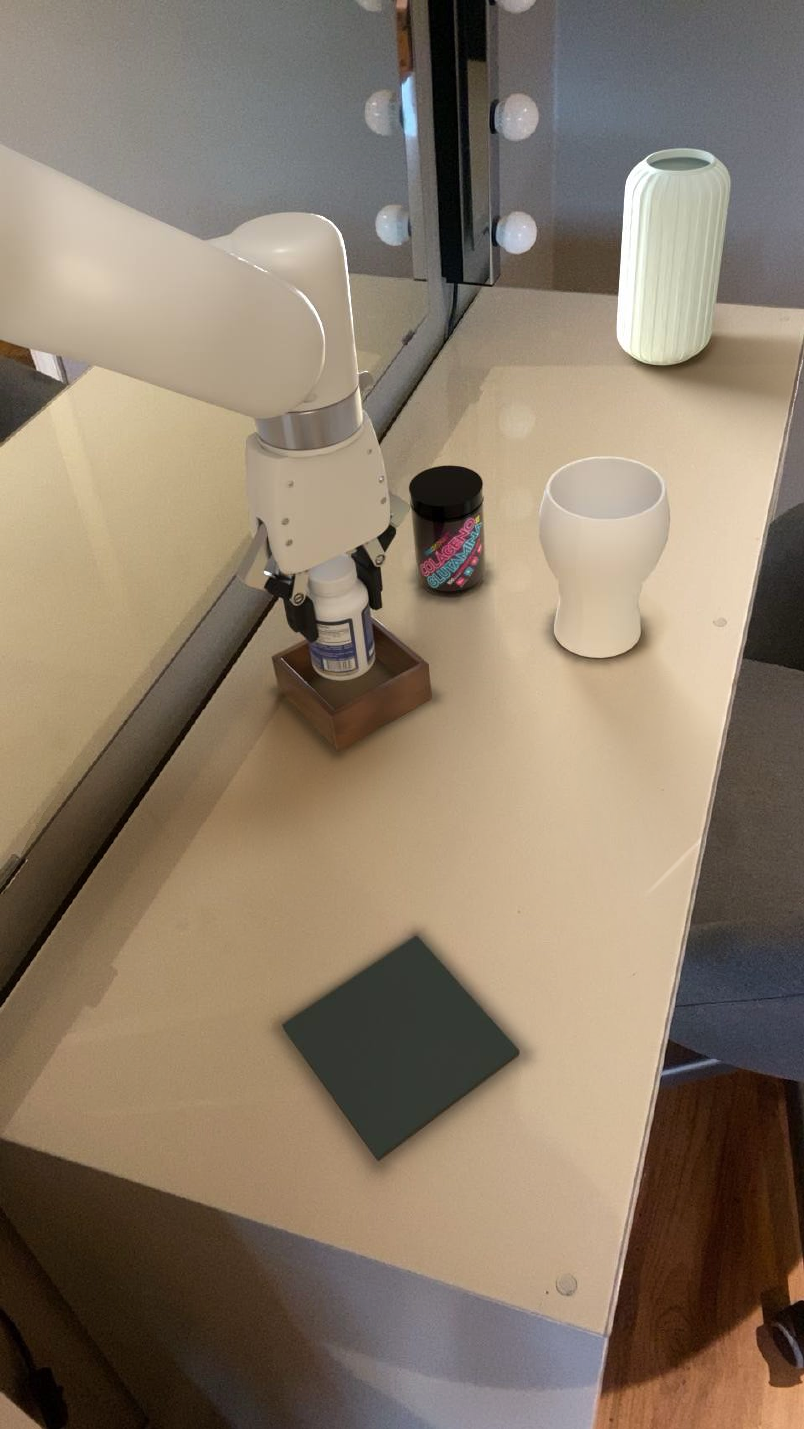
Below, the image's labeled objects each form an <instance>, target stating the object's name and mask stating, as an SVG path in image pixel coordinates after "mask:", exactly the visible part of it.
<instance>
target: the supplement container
mask: <svg viewBox="0 0 804 1429" xmlns="http://www.w3.org/2000/svg"><path fill="white" fill-rule="evenodd" d="M408 492H409V493H408V494H409V505H410V511H411V523H412V531H413V532H412V533H413V544H414V545H413V546H414V554H415V564H416V575H417V576H416V577H417V580H418V582H419V583H420V584H421V586H422V587H423V588H424V589H426V590H427V591H429V592H431V593H433V594H435V595H439V596H445V597H454V596H460V595H464V594H465V595H466V594H467V593H469V592H471V591H473V590H474V589H476V588H477V587H478V586H480V584H481V583H482V582H483V580H484V578H485V575H486V572H487V571H486V567H487V566H486V544H485V542H486V541H485V512H484V500H485V496H484V481H483V479H482V476H481V475H480V474H479V473H477V472H476V470H473V469H471V468H468V467H465V466H460V465H452V464H449V465H438V466H434V467H430V468H427V469H424V470H422V471H421V472H419V473H418V474H416V475H415V476H414V477H413V478H411V480H410V482H409V485H408Z"/></svg>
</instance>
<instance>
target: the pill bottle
mask: <svg viewBox="0 0 804 1429" xmlns="http://www.w3.org/2000/svg"><path fill="white" fill-rule="evenodd" d="M306 595H307V596H308V597H309V598H310V599H311V600H312V601H313V604H314V610H315V616H316V623H317V629H318V635H319V637H318V638H317V640H316V641H314V642H312V643H311V642H309V641H308V644H309V650H310V656H311V661H312V665H313V667H314V669H315V671H316V672H317V673H318V675H319V676H321V677H323V678H325V679H328V680H331V681H339V682H341V681H350V680H354V679H356V678H359V677H361V676H362V675H364V674H365V673H367V672H368V671H369V670H370V669H371V668H372V666H373V665H374V663H375V660H376V656H375V646H374V638H373V630H372V621H371V616H372V615H371V614H372V613H371V608H370V605H369V597H368V592H367V589H366V586H365V585H364V583H363V582H362V581H361V580H360V579H358V578H357V572H356V566H355V562H354V560H353V559H352V558H351V555H348V554H346V553H343V554H341V555H339V556H336V557H334V558H332V559H330V560H328V561H325V562H323V563H321V564H319V565H317V566H314V567H312V568H310V572H309V578H308V585H307V591H306Z"/></svg>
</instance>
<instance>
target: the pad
mask: <svg viewBox="0 0 804 1429" xmlns="http://www.w3.org/2000/svg"><path fill="white" fill-rule="evenodd" d="M281 1026H282V1029H283V1030H284V1032H285V1034H286V1035H287V1036H288V1038H289V1039H290V1040H291V1042H292V1043H293V1044H294V1046H295V1047H296V1048H297V1051H298V1052H300V1055H301V1056H302V1057H303V1058H304V1060H305V1061H306V1063H307V1064H308V1065H309V1067H310V1068H311V1070H312V1071H313V1072H314V1074H315V1075H316V1077H317V1078H318V1079H319V1081H320V1083H321V1084H322V1085H323V1087H324V1088H325V1090H326V1091H327V1092H328V1093H329V1095H330V1096H331V1098H332V1099H333V1100H334V1102H335V1103H336V1105H337V1106H338V1107H339V1109H340V1110H341V1111H342V1113H343V1114H344V1116H345V1118H346V1119H347V1120H348V1122H349V1123H350V1125H351V1126H352V1127H353V1128H354V1130H355V1131H356V1133H357V1134H358V1136H359V1137H360V1138H361V1140H362V1141H363V1143H364V1144H365V1145H366V1147H367V1148H368V1150H369V1151H370V1152H371V1154H372V1155H373V1156H374V1159H376V1161H380V1160H382V1159H383V1158H384V1157H385V1156H386V1155H388V1154H389V1153H390V1152H392V1151H393V1150H394V1149H396V1148H397V1147H399V1146H400V1145H401V1144H402V1143H404V1142H405V1141H406V1140H408V1139H409V1138H410V1137H412V1136H413V1135H415V1134H416V1133H417V1132H418V1131H419V1130H421V1129H422V1128H424V1127H425V1126H426V1125H427V1124H429V1123H430V1122H432V1121H433V1120H434V1119H436V1118H437V1117H438V1116H440V1115H441V1114H442V1113H444V1112H445V1111H446V1110H448V1109H449V1108H450V1107H451V1106H453V1105H454V1104H455V1103H457V1102H458V1101H459V1100H460V1099H462V1098H463V1097H464V1096H466V1095H468V1094H469V1093H470V1092H472V1091H473V1090H474V1089H475V1088H477V1087H479V1085H481V1084H482V1083H483V1082H485V1081H487V1079H489V1078H490V1077H491V1076H493V1075H494V1074H495V1073H497V1072H498V1071H500V1070H501V1069H502V1068H504V1066H506V1065H507V1064H509V1063H510V1062H511V1061H513V1060H514V1059H515V1058H517V1057H518V1056H519V1055H520V1049H519V1048H517V1046H516V1045H515V1044H514V1043H513V1041H512V1040H510V1037H508V1036H507V1035H506V1034H505V1033H504V1032H503V1030H502V1029H501V1028H500V1027H499V1026H498V1025H497V1024H496V1022H495V1021H494V1020H493V1019H492V1018H491V1017H490V1016H489V1015H488V1013H487V1012H486V1011H485V1010H484V1009H483V1008H482V1007H481V1006H480V1005H479V1003H478V1002H477V1001H476V1000H475V999H474V998H473V996H471V995H470V993H469V992H468V991H467V990H466V989H465V987H463V985H462V984H461V983H460V982H459V981H458V980H457V979H456V978H455V976H454V975H453V974H452V973H451V972H450V971H449V970H448V969H447V968H446V966H445V965H444V964H443V962H441V961H440V959H439V958H438V957H437V956H436V955H435V954H434V953H433V951H431V949H430V948H429V947H428V946H427V945H426V944H425V943H424V941H423V940H422V939H421V938H420V937H419V936H418V935H414V936H413V937H411V938H410V939H408V940H406V941H405V942H404V943H402V944H401V945H400V946H398V947H396V948H395V949H394V950H392V951H391V952H389V953H388V954H386V955H384V956H383V957H381V958H380V959H379V960H377V961H375V962H374V963H372V964H371V965H370V966H367V967H366V968H365V969H363V970H361V972H359V973H357V974H356V975H354V976H353V977H351V978H350V979H349V980H347V981H346V982H344V983H343V984H341V985H340V986H338V987H337V988H335V989H334V990H331V991H330V992H329V993H327V994H326V995H325V996H323V997H321V998H320V999H318V1000H317V1001H316V1002H314V1003H313V1004H311V1005H310V1006H308V1007H306V1008H305V1009H303V1010H302V1011H301V1012H299V1013H298V1014H296V1015H294V1016H293V1017H292V1018H290V1019H289V1020H287V1021H286V1022H283V1024H282V1025H281Z"/></svg>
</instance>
